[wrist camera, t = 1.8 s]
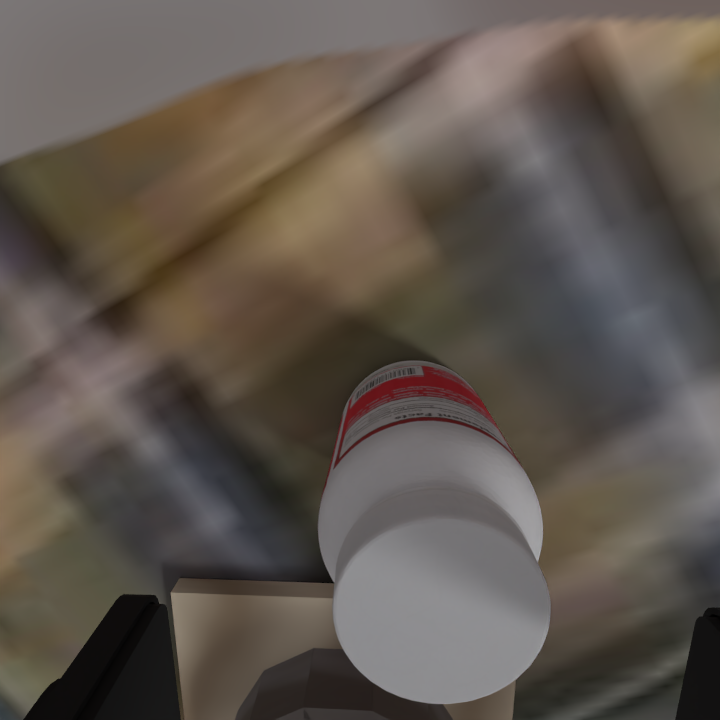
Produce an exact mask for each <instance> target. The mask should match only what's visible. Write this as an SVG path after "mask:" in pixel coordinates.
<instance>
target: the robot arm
mask: <svg viewBox="0 0 720 720" xmlns="http://www.w3.org/2000/svg"><path fill="white" fill-rule="evenodd" d="M23 720H181V719H180V710H179V701H178V693H177V685H176V677H175V669H174V661H173V652H172V644H171V636H170V628H169V620H168V611H167V607H166V605H164V604H159V602H158V598H157V597H156V596H155V595H129V594H124V595H122V596H120V597H119V598H118V599H117V600H116V601H115V603H114V604H113V606H112V607H111V608H110V610H109V611H108V613H107V614H106V616H105V617H104V618H103V620H102V621H101V623H100V624H99V625H98V627H97V628H96V630H95V631H94V632H93V634H92V635H91V637H90V638H89V639H88V641H87V642H86V644H85V645H84V647H83V648H82V649H81V651H80V652H79V654H78V655H77V656H76V658H75V659H74V661H73V662H72V663H71V665H70V666H69V668H68V669H67V670H66V672H65V673H64V675H63V676H62V678H61V679H57V680H56V681H54V682H53V683H51V684H50V685H49V686H48V688H47V689H46V690H45V691H44V692H43V693H42V695H41V696H40V697H39V699H38V700H37V702H36V703H35V704H34V706H33V707H32V708H31V710H30V711H29V713H28V714H27V715H26V717H25V718H24V719H23ZM675 720H720V608H708V609H707V610H706V611H705V613H704V615H703V617H699V618H698V619H697V620H696V623H695V627H694V632H693V637H692V642H691V646H690V651H689V656H688V661H687V666H686V671H685V676H684V680H683V685H682V690H681V695H680V700H679V705H678V710H677V714H676V719H675Z"/></svg>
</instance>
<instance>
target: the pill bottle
mask: <svg viewBox="0 0 720 720" xmlns="http://www.w3.org/2000/svg"><path fill="white" fill-rule="evenodd" d="M318 537H319V545H320V550H321V554H322V558H323V561H324V564H325V566H326V568H327V570H328V572H329V575H330V577H331V578H332V580H333V582H334V591H333V603H332V612H333V621H334V626H335V631H336V634H337V637H338V640H339V642H340V644H341V646H342V648H343V650H344V652H345V653H346V655H347V656H348V658H349V659H350V661H351V662H352V663H353V665H354V666H355V667H356V668H357V669H358V670H359V671H360V672H361V673H362V674H363V675H364V676H365V677H367V678H368V679H369V680H370V681H371V682H373V683H374V684H376V685H378V686H379V687H381V688H382V689H384V690H386V691H388V692H390V693H392V694H395V695H397V696H399V697H402V698H406V699H409V700H413V701H418V702H424V703H431V704H453V703H461V702H468V701H473V700H476V699H479V698H482V697H485V696H488V695H490V694H492V693H494V692H497V691H499V690H500V689H502V688H504V687H506V686H507V685H509V684H510V683H512V682H513V681H514V680H516V679H517V678H518V677H519V676H520V675H521V674H522V673H523V672H524V671H525V670H526V669H527V668H529V666H530V665H531V664H532V662H533V661H534V659H535V658H536V657H537V655H538V653H539V652H540V650H541V648H542V646H543V644H544V641H545V638H546V636H547V633H548V629H549V624H550V611H551V605H550V596H549V591H548V587H547V583H546V580H545V578H544V575H543V573H542V571H541V569H540V566H539V564H538V560H539V556H540V552H541V547H542V540H543V522H542V514H541V509H540V505H539V501H538V499H537V496H536V493H535V491H534V488H533V486H532V484H531V482H530V480H529V478H528V476H527V474H526V473H525V471H524V469H523V467H522V466H521V464H520V463H519V461H518V459H517V458H516V456H515V455H514V453H513V451H512V450H511V448H510V446H509V445H508V443H507V442H506V440H505V438H504V437H503V435H502V433H501V432H500V430H499V428H498V427H497V425H496V423H495V422H494V420H493V419H492V417H491V415H490V414H489V412H488V411H487V409H486V407H485V406H484V404H483V402H482V401H481V399H480V398H479V396H478V395H477V393H476V392H475V391H474V389H473V388H472V387H471V386H470V385H469V384H468V382H466V381H465V380H464V379H463V378H462V377H461V376H460V375H458V374H457V373H455V372H454V371H452V370H450V369H448V368H446V367H444V366H441V365H439V364H435V363H431V362H427V361H401V362H396V363H392V364H390V365H387V366H384V367H382V368H380V369H378V370H377V371H375V372H373V373H372V374H370V375H369V376H368V377H366V378H365V379H364V380H363V381H362V382H361V383H360V384H359V385H358V386H357V387H356V389H355V390H354V391H353V393H352V395H351V396H350V398H349V400H348V401H347V403H346V406H345V409H344V411H343V414H342V418H341V422H340V425H339V429H338V435H337V439H336V443H335V447H334V451H333V455H332V459H331V463H330V467H329V471H328V475H327V478H326V482H325V486H324V489H323V493H322V498H321V503H320V510H319V518H318Z"/></svg>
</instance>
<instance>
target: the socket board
mask: <svg viewBox="0 0 720 720" xmlns="http://www.w3.org/2000/svg"><path fill="white" fill-rule="evenodd" d="M333 591H334V583H308V582H279V581H250V580H222V579H193V578H179V580H178V581H177V583H176V585H175V586H174V588H173V589H172V591H171V601H172V610H173V619H174V628H175V637H176V647H177V656H178V665H179V674H180V683H181V692H182V702H183V711H184V720H512V717H513V706H514V695H515V684H516V680H514V681H513V682H512V683H510V684H509V685H507V686H506V687H504V688H502V689H500V690H499V691H497V692H494V693H492V694H490V695H488V696H485V697H482V698H479V699H476V700H473V701H468V702H461V703H453V704H431V703H424V702H418V701H413V700H409V699H406V698H402V697H399V696H397V695H395V694H392V693H390V692H388V691H386V690H384V689H382V688H381V687H379V686H378V685H376V684H374V683H373V682H371V681H370V680H369V679H368V678H367V677H365V676H364V675H363V674H362V673H361V672H360V671H359V670H358V669H357V668H356V667H355V666H354V665H353V663H352V662H351V661H350V659H349V658H348V656H347V655H346V653H345V652H344V650H343V648H342V646H341V644H340V642H339V640H338V637H337V634H336V631H335V626H334V621H333V612H332V603H333Z"/></svg>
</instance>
